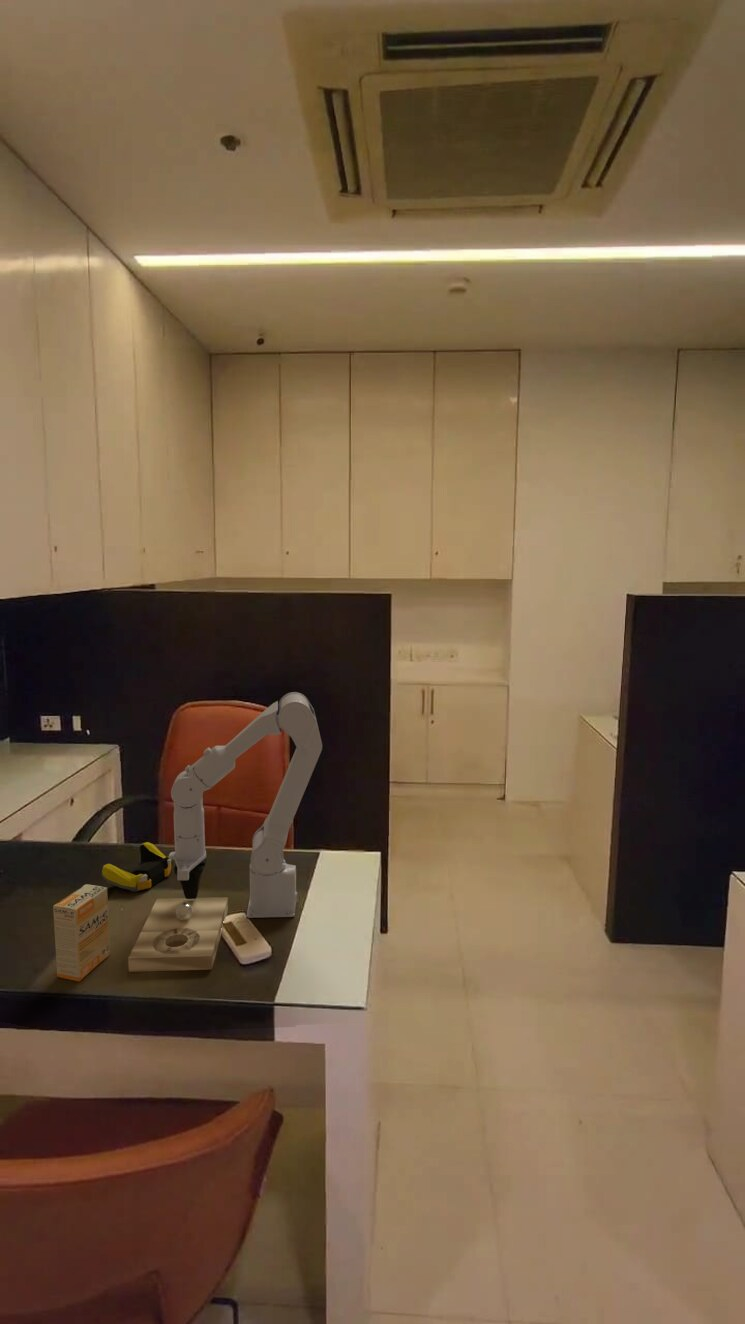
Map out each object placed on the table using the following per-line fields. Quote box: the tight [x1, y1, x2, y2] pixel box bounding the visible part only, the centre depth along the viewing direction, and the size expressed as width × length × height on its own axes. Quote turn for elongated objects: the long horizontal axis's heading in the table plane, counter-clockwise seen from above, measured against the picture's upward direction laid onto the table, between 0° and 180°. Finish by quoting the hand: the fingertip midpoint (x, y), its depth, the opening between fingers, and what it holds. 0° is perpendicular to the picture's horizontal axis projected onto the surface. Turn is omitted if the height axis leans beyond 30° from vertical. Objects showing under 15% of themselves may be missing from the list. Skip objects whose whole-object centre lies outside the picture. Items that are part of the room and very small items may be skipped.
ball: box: [175, 903, 193, 921], centre depth 127 cm, size 3×3×3 cm
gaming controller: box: [101, 841, 173, 893], centre depth 147 cm, size 15×6×10 cm
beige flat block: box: [127, 896, 229, 973], centre depth 126 cm, size 20×14×2 cm
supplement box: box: [52, 883, 111, 983], centre depth 116 cm, size 8×5×13 cm, turn 164°
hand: (191, 897), depth 134 cm, fingers closed
